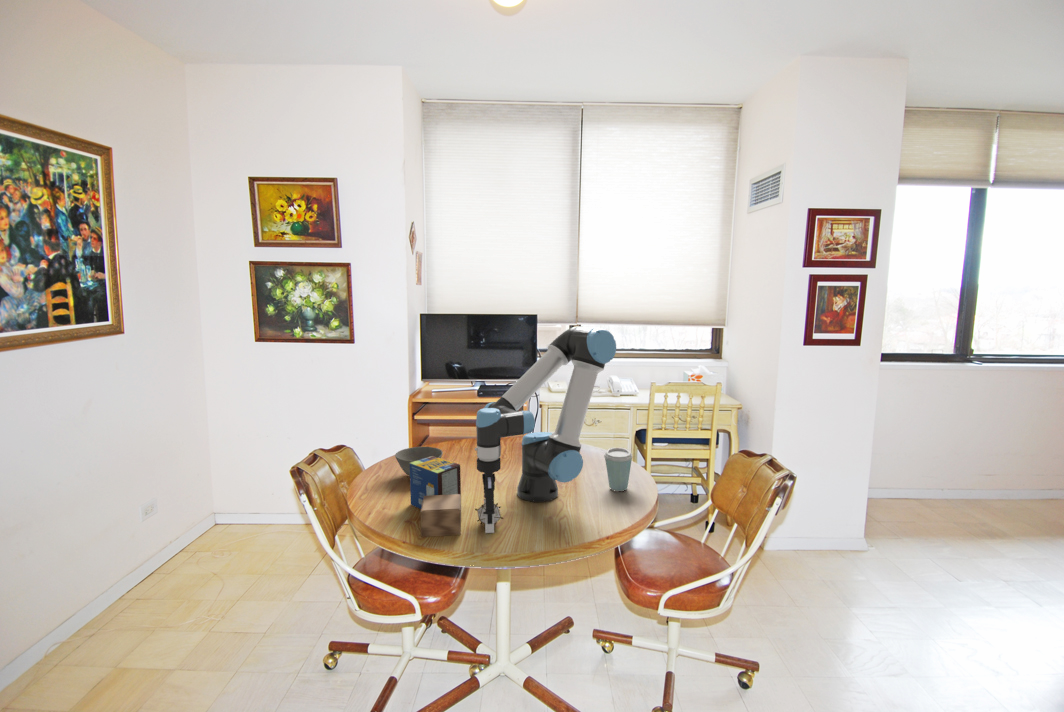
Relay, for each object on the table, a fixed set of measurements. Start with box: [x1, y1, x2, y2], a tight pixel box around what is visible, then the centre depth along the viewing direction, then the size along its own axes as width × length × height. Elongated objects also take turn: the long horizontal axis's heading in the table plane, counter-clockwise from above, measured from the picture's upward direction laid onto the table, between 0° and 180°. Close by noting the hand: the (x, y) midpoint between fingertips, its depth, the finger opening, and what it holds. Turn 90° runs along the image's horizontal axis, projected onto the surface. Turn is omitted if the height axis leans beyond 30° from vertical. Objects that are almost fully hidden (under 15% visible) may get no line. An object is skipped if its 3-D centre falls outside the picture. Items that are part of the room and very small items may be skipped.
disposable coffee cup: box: [603, 447, 633, 492], centre depth 189 cm, size 11×11×15 cm
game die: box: [474, 502, 504, 525], centre depth 159 cm, size 9×8×10 cm
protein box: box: [409, 456, 462, 510], centre depth 173 cm, size 10×15×16 cm
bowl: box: [394, 446, 444, 478], centre depth 201 cm, size 19×19×10 cm
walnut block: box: [420, 493, 462, 538], centre depth 158 cm, size 12×12×8 cm
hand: (489, 524), depth 159 cm, fingers closed on game die, 9 cm apart
